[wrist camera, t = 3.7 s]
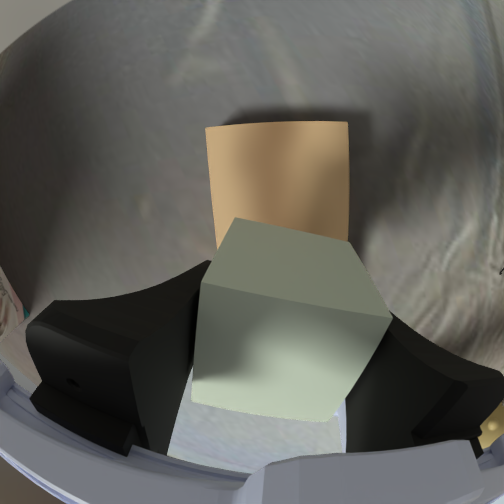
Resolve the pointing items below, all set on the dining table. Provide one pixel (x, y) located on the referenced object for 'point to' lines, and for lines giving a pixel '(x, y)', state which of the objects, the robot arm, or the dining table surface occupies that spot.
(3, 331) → the cake mix box
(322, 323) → the sage block
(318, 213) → the tan block
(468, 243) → the dining table surface
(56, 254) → the dining table surface
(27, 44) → the dining table surface
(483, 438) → the toy pig
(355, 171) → the dining table surface
